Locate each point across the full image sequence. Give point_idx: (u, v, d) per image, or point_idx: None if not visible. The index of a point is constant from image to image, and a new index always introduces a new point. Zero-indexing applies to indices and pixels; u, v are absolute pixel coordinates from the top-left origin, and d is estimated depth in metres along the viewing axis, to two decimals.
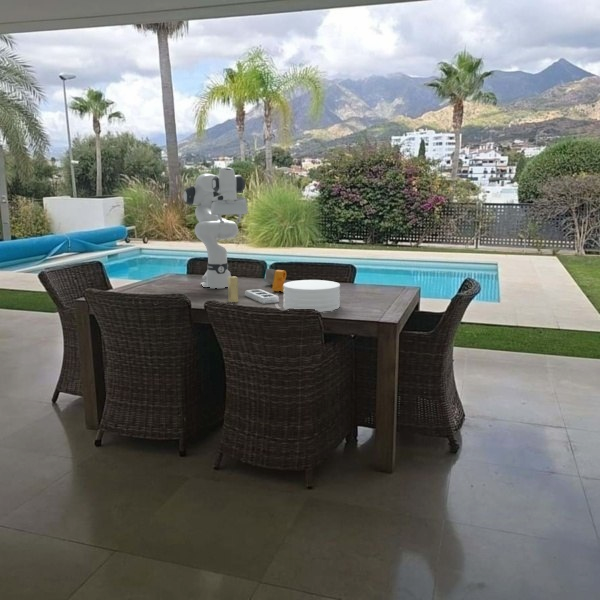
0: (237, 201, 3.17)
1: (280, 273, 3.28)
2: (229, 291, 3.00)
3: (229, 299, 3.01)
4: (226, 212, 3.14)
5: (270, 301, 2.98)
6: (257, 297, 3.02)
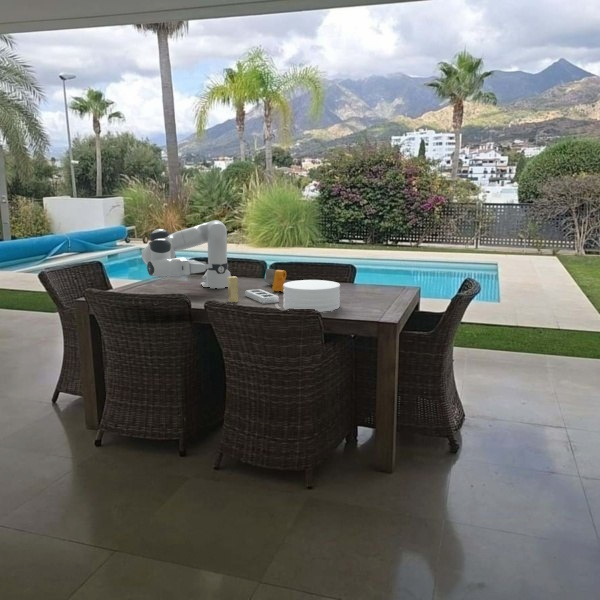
0: None
1: (280, 273, 3.27)
2: (229, 291, 3.00)
3: (229, 299, 3.01)
4: (199, 262, 2.87)
5: (270, 301, 2.98)
6: (257, 297, 3.02)
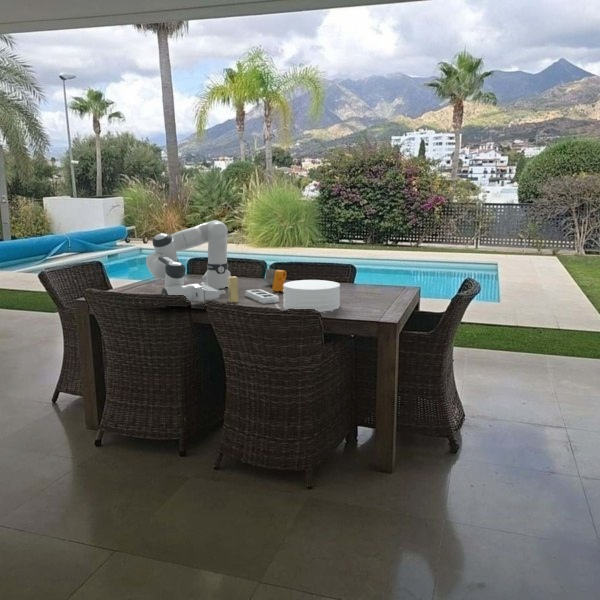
0: None
1: (280, 273, 3.28)
2: (229, 291, 3.00)
3: (229, 299, 3.01)
4: (212, 288, 2.92)
5: (270, 301, 2.98)
6: (257, 297, 3.02)
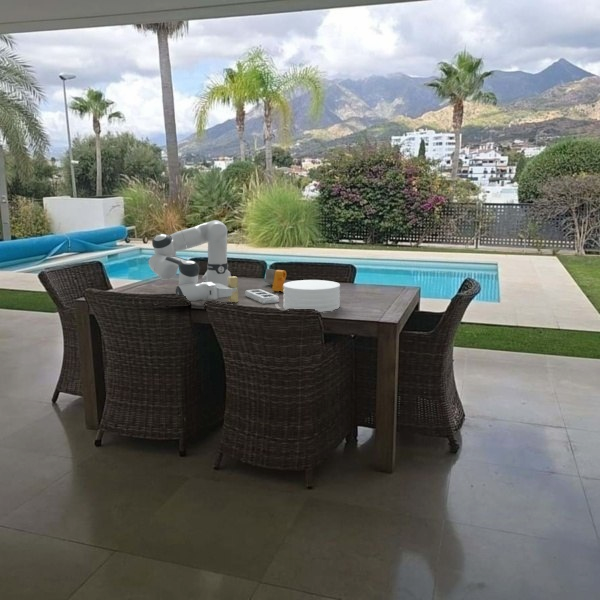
0: None
1: (280, 273, 3.28)
2: None
3: (229, 299, 3.01)
4: (225, 286, 2.95)
5: (270, 301, 2.98)
6: (257, 297, 3.02)
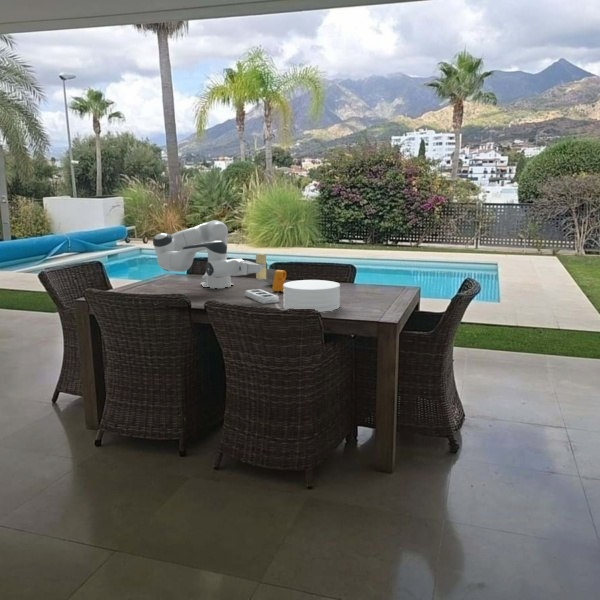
0: None
1: (280, 273, 3.27)
2: None
3: (257, 276, 3.06)
4: (254, 263, 3.00)
5: (270, 301, 2.98)
6: (257, 297, 3.02)
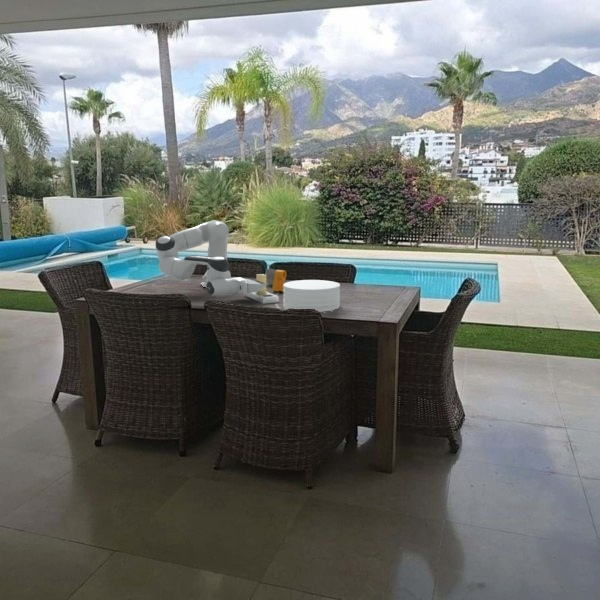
0: None
1: (280, 273, 3.27)
2: None
3: None
4: (254, 281, 3.02)
5: (270, 301, 2.98)
6: (257, 297, 3.02)
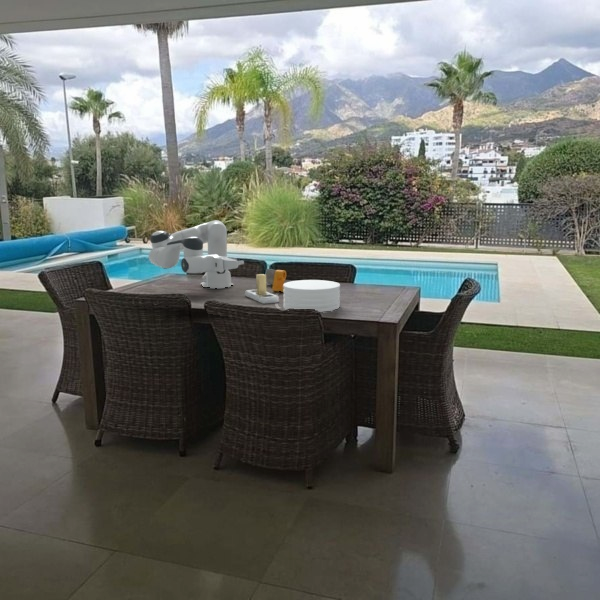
0: None
1: (280, 273, 3.28)
2: (257, 288, 3.07)
3: None
4: (231, 259, 2.94)
5: (270, 301, 2.98)
6: (257, 297, 3.02)
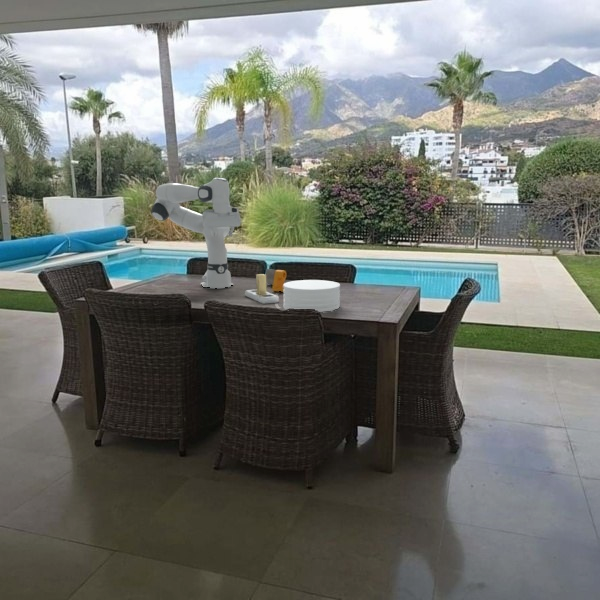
0: None
1: (280, 273, 3.28)
2: (257, 288, 3.07)
3: None
4: None
5: (270, 301, 2.98)
6: (257, 297, 3.02)
